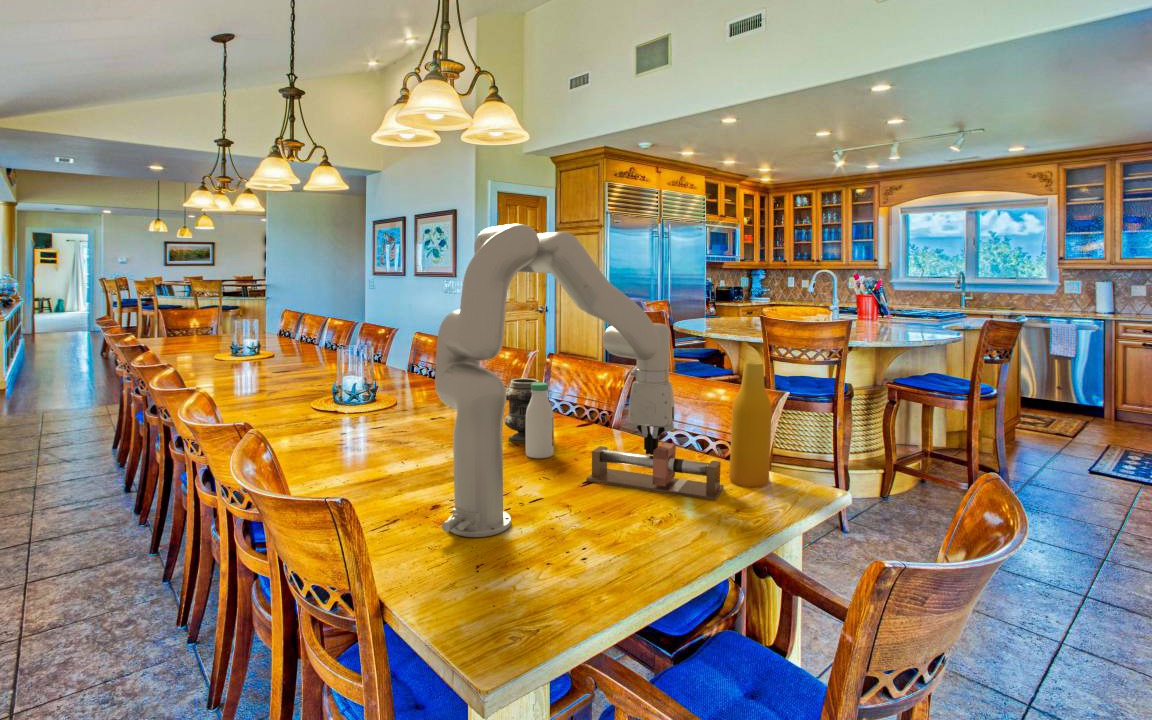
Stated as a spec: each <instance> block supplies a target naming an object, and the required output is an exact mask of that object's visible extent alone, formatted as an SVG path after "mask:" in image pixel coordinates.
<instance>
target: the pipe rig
mask: <svg viewBox="0 0 1152 720" xmlns="http://www.w3.org/2000/svg"><path fill="white" fill-rule="evenodd" d="M608 463H609V464H617V465H625V466H631V467H637V468H645V469H652V470H653V455H650V454H641V453H636V452H635V453H634V452H629V451H618V450H611V449H608V446H601V445H600V446H598V447H596V448H594V449H593V450H591V474H590V475H589V476H588V477H586V482H590V483H595V484H601V483H602V484H603V485H608V486H614V487H623V488H628V489H636V490H641V491H647V492H655V493H660V494H666V495H672V496H673V495H674V496H680V497H685V498H686V497H687V498H692V499H697V500H698V499H699V500H704V501H705V500H706V501H710V502H711V501H712V502H716V500H717V499H718V497H719V496H720V494H721V493H722V491H723V490H724V484H721V465H722V464H721V463H722V462H721V461H719V460H718V461H717V460H711V461H710V462H702V461H696V460H688V459H684V458H676V457H675V459H674V458H668V471H673V472H675V473H677V474H689V475H696V476H701V477H702V476H703V477H706V482H703V481H697V480H690V479H685V478H675V477H674V478H673V479H672V480H671V481H670V482H669V483H668V484H667V485H666V486H660V485H653V474H647V473H641V472H635V471H634V472H633V471H626V470H619V469H612V468H608Z"/></svg>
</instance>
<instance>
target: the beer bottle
mask: <svg viewBox="0 0 1152 720" xmlns="http://www.w3.org/2000/svg"><path fill="white" fill-rule="evenodd" d="M741 378H742V379H741V386H740V388H739V391H738V393H737V394H736V397H735V398H734V401H733V403H732V406H731V407H732V408H731V427H730V429H731V430H730V453H729V470H728V471H729V472H728V476H729V481H730V482H731V483H732V484H733V485H736V486H738V487H743V488H744V487H745V488H752V489H753V488H755V489H757V488H762V487H765V486H767V485H768V483H769V481H770V480H769V479H770V459H771V458H770V453H771V435H772V434H771V433H772V416H773V410H772V409H773V408H772V403H771V401H770V399H769V396H768V394H767V391H766V386H765V385H766V384H765V373H764V362H760V361H745V362H744V366H743V372H742V377H741Z"/></svg>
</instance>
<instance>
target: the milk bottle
mask: <svg viewBox="0 0 1152 720" xmlns="http://www.w3.org/2000/svg"><path fill="white" fill-rule="evenodd" d="M531 392H532V397H531V400H530V402H529V405H528V407H527V410H526V443H525V454H526V456H527V457H528V458H531V459H532V458H533V459H546V458H550V457H552V456H553V455H554V450H555V449H554V448H555V443H554V439H555V437H554V435H555V431H554V430H555V429H554V428H555V426H554V425H555V424H554V422H555V421H554V410H553V407H552V404H551V403H550V400H549V397H548V393H549V383H546V382H539V383H532V384H531Z"/></svg>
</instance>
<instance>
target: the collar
mask: <svg viewBox="0 0 1152 720" xmlns="http://www.w3.org/2000/svg"><path fill="white" fill-rule="evenodd" d="M676 446H677V445H676V443H671V442H662V443H660V445H658V447H657V448H656V449H655V450H654V451H653V455H652V456H653V469H652V475H653V485H660V486H666V485H667V484H668V483H669V482H670V481H671V480H672V479H673V478H675V477H676V472H673V471H668V458H674V459H675V458H676V449H677V448H676Z"/></svg>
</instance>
